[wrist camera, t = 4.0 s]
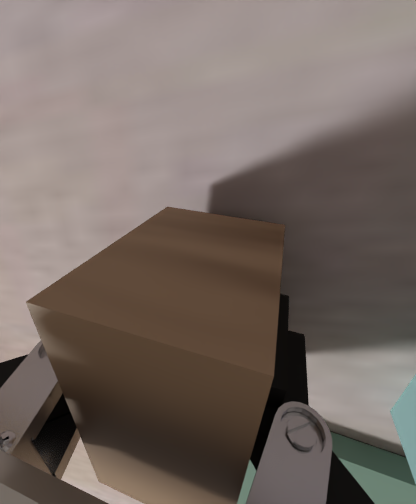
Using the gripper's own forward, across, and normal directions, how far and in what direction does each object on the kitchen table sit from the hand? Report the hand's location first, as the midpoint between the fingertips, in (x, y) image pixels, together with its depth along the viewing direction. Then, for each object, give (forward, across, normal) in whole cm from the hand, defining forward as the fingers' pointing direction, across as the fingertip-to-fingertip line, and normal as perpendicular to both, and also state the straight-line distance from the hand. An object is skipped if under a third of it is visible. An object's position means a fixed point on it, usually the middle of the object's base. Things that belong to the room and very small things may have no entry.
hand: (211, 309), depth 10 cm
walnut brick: (+1, 0, 0) cm, 1 cm away
